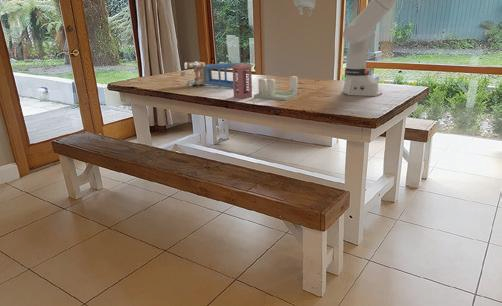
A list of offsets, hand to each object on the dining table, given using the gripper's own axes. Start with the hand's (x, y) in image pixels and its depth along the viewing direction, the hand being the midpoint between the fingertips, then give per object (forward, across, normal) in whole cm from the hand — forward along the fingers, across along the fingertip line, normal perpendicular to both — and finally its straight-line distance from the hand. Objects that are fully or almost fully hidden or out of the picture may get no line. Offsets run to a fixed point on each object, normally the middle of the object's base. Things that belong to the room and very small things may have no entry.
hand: (305, 15), depth 228 cm
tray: (+46, -24, +10) cm, 53 cm away
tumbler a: (+46, -27, +11) cm, 54 cm away
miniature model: (+45, -33, +26) cm, 62 cm away
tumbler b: (+45, -27, +16) cm, 55 cm away
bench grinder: (+36, -8, +69) cm, 78 cm away
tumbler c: (+45, -9, +6) cm, 46 cm away
